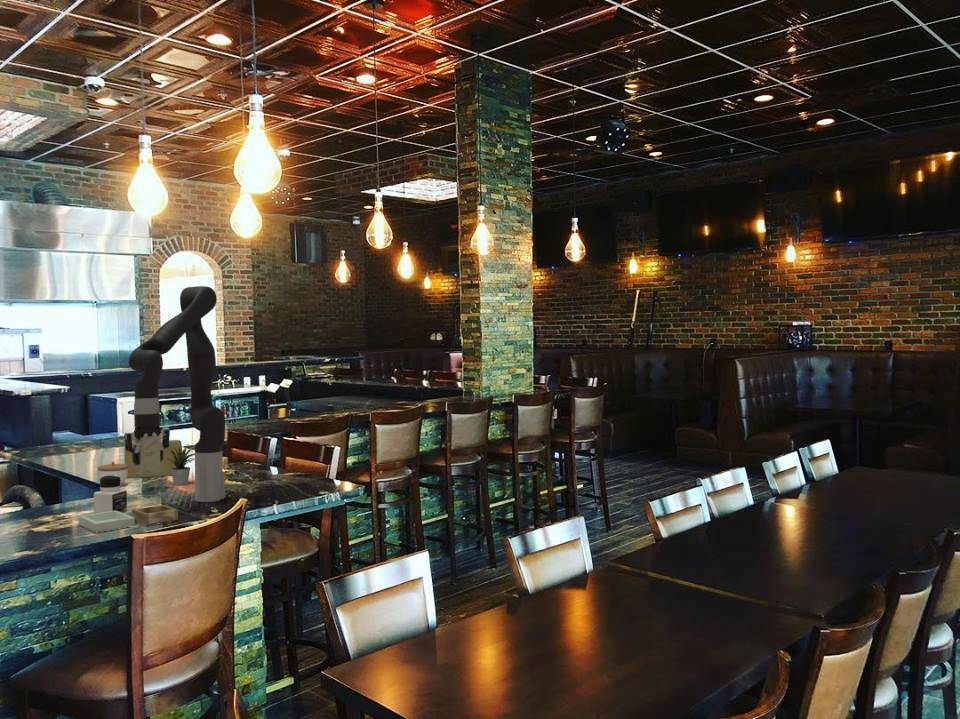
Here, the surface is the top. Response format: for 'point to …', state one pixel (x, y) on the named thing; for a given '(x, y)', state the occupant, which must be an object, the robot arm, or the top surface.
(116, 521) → the tray
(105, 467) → the lidded jar
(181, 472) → the house plant
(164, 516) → the wooden square box
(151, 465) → the skincare box
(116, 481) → the medicine bottle
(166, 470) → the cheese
